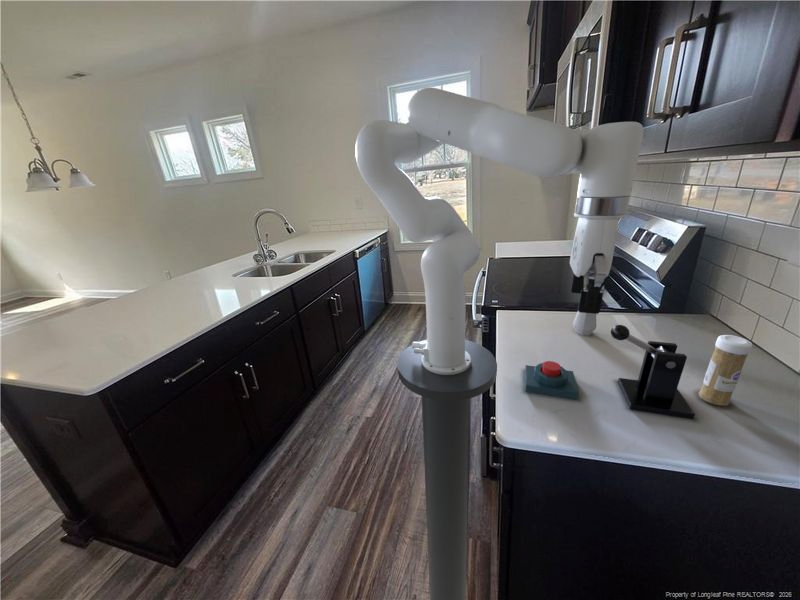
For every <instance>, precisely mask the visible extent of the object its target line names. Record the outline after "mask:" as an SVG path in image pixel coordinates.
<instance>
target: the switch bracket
mask: <svg viewBox="0 0 800 600" xmlns="http://www.w3.org/2000/svg"><path fill="white" fill-rule="evenodd" d="M647 344H649V345H651V346H653V347H654V348H656V349H657V348H658V347H659V346H662V347H664V348H665V349H667V350H669V351H671V352H673V353H668V352H659V351H656V353H655V356H654V358H653V357H652V355H651V354H652V353H650V352H648V351H646V350H645V352H644V355H643V360H642V364H641V366H640V371H639V375H638V378H637V379H631V378H624V377H623V378H622V377H618V378H617V384H618V386H619V388H620V391H621V393H622V395H623V397H624V400H625V402H626V404H627V406H628V409H629V410H632V411H638V412H645V413H651V414H656V415H663V416H670V417H676V418H682V419H688V420H689V419H690V420H695V419H694V418H695V417H696V413H695V412H694V410H693V409H692V407H691V406H690V405H689V403H688V402H687V401H686V399H685V398H684V396H683V395H682V394H681V392H680V391H679V389H678V387H679V383H680V380H681V377H682V374H683V371H684V368H685V365H686V361H687V358H688V356H687V355H686V354H685V353H678V352H677V349H678V344H677V343H674V342H665V341H653V340H648V341H647ZM676 352H677V353H676Z"/></svg>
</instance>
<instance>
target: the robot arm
mask: <svg viewBox="0 0 800 600" xmlns="http://www.w3.org/2000/svg"><path fill="white" fill-rule="evenodd" d="M406 114H407V121H408V122H406V123H405V122H404V123H403V122H398V121H393V120H385V119H378V120H373V121H369V122H367V123H366V124H365V125H364V126H362V127H361V129H360V130H359V132H358V134H357V136H356V140H355V147H354V148H355V151H354V152H355V160H356V165H357V169H358V171H359V174H360V176H361V178H362V179H363V181H364V182H365V183H366V185H367V186H368V187H369V189H370V190H371V191H372V193H374V195H375V196H376V197H377V199H378V200H379V201H380V203H381V204H382V206H383V207H384V209H385V210H386V212H387V213H388V215H389V216H390V217H391V219H392V220H393V221H394V223H395V225H396V226H397V227H398V228H399V230H400V232H401V233H402V234H403V236H404V237H405V238H406V239H407V240H408V241H409V242H412V243H414V244H415V243H416V244H419V243H424V242H427V241H429V240H432V243H431V244H430V245H428V246H427V247H426V248H425V250H424V251H423V253H422V256H421V259H420V271H421V276H422V279H423V285H424V286H423V287H424V296H425V316H426V317H425V318H426V319H425V321H426V339H427V342H424V343H420V342H419V341H412V343H411V345H412V349H414V353H417V354H422V364H423V366H424V367H425V368H426V369H427V370H429V371H431V372H433V373H436V374H441V375H454V374H459V373H462V372H464V371H465V370H467V369H468V368H469V367H470V365H471V356H470V355H469V353H468V352H466V351H465V340H466V325H467V324H466V323H467V322H466V320H467V319H466V317H467V311H466V310H467V293H466V286H465V283H464V274H465V273H466V272H467V271H469V270H471V268H472V267H474V266H475V265H476V264H477V262H478V261H479V258H480V251H481V250H480V246H479V242H478V240H477V239H476V237H475V236H474V234H473V233H472V231H471V230H470V228H469V227H468V225H467V224H466V222H464V220H463V219H462V217H461V216H460V215H459V213H458V212H457V211H456V209H455V208H454V207H453V206H452V204H450V203H449V202H448V201H447V200H445V199H444V198H442V197H438V196H432V197H426V196H424V195H423V194H422V193H421V192H420V190H419V189H418V187H417V186H416V185H415V183H414V182H413V180H412V179H411V178H410V177H409V175H407V173H405V171H403V169H400V167H398V165H397V164H410V163H413V162H416V161H418V160H419V159H421V158H423V157H424V156H426V155H428V154H429V153H431V152H433V151H434V150H437V148H439V147H441V146H443V145H444V144H446V145H449V146H452V147H454V148H457V149H459V150H463V151H465V152H468V153H470V154H473V155H475V156H478V157H481V158H485V159H488V160H490V161H492V162H496V163H498V164H500V165H503V166H507V167H508V168H510V169H511V168H512V169H514V170H518V171H520V172H523V173H526V174H529V175H532V176H534V177H539V178H542V179H543V178H544V179H552V178H556V177H562V176H568V175H573V174H579V173H580V174H579V180H578V185H577V193H576V198H575V206H574V213H573V216H574V217H575V218H578V219H577V223H576V228H575V232H574V237H573V241H572V242H573V243H572V247H571V251H570V252H571V253H570V258H569V266H570V268H571V270H572V273H573V275H572V281H571V286H570V292H571V293H572V294H580V295H579V300H578V306H577V312H578V311H579V312H581V313H593V314H596V315H598V314H600V312H601V306H602V302H603V297H604V291H605V283H606V282H605V279H606V278H607V277H608V276H609V274H610V271H611V268H612V263H613V259H614V254H615V247H616V241H617V237H618V236H617V235H618V229H619V221H620V219H625V218H626V217H627V214H628V209H629V205H630V201H631V194H632V189H633V185H634V181H635V176H636V171H637V166H638V163H639V162H638V161H639V158H640V157H639V156H640V153H641V147H642V142H643V138H644V132H645V131H644V130H645V129H644V126H643V124H641V122H637V121H618V122H608V123H604V124H599V125H596V126H593V127H592V128H591V129H574V128H571V127H570V126H567V125H564V124H561V123H557V122H554V121H550V120H546V119H543V118H539V117H535V116H532V115H528V114H525V113H521V112H517V111H513V110H510V109H506V108H503V107H502V106H500V105H498V104H495V103H492V102H490V101H485V100H481V99H477V98H474V97H470V96H466V95H463V94H460V93H455V92H452V91H448V90H444V89H441V88H436V87H423V88H421V89H420V90H418V91H416V92H415V93H414V94H413V95H412V97H411V99H410V100H409V102H408V105H407V113H406Z"/></svg>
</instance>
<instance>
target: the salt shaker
mask: <svg viewBox="0 0 800 600" xmlns="http://www.w3.org/2000/svg"><path fill="white" fill-rule="evenodd" d="M572 325H573V328H574V330H575V334H578V335H580V336H590V335H592V334H593V332H594V331H595V330H597V326H598V325H597V314H593V313H581V312H579V311H578V310H577V313H576V315H575V317H574V320H573V323H572Z"/></svg>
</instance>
